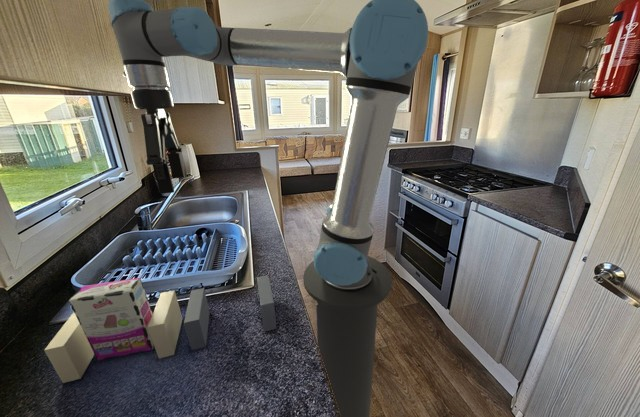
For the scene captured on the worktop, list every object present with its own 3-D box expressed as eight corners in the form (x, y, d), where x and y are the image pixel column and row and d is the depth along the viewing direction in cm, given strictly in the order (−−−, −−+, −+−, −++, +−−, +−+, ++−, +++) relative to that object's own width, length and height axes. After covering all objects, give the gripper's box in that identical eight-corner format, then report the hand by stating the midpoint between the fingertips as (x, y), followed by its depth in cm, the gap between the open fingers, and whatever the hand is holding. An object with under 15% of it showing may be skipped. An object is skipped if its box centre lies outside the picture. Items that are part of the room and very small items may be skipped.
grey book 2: (270, 299, 73) (268, 275, 70) (276, 328, 63) (273, 302, 60) (260, 301, 72) (256, 277, 69) (264, 332, 62) (260, 305, 59)
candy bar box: (160, 333, 63) (141, 276, 57) (153, 351, 58) (131, 291, 52) (108, 342, 61) (82, 284, 54) (95, 361, 56) (66, 300, 50)
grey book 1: (209, 312, 69) (204, 287, 66) (205, 346, 59) (198, 319, 56) (197, 315, 68) (191, 290, 65) (191, 350, 58) (183, 323, 55)
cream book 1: (104, 335, 62) (91, 306, 59) (80, 378, 52) (63, 345, 49) (89, 339, 61) (75, 309, 58) (62, 383, 52) (43, 350, 48)
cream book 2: (182, 318, 67) (174, 290, 63) (174, 354, 57) (163, 323, 54) (169, 321, 66) (160, 292, 63) (158, 358, 56) (147, 327, 53)
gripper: (147, 92, 66) (167, 174, 74) (104, 85, 44) (139, 203, 52) (180, 92, 68) (196, 171, 76) (154, 85, 46) (181, 198, 54)
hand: (173, 184), depth 64 cm, fingers open, 13 cm apart
